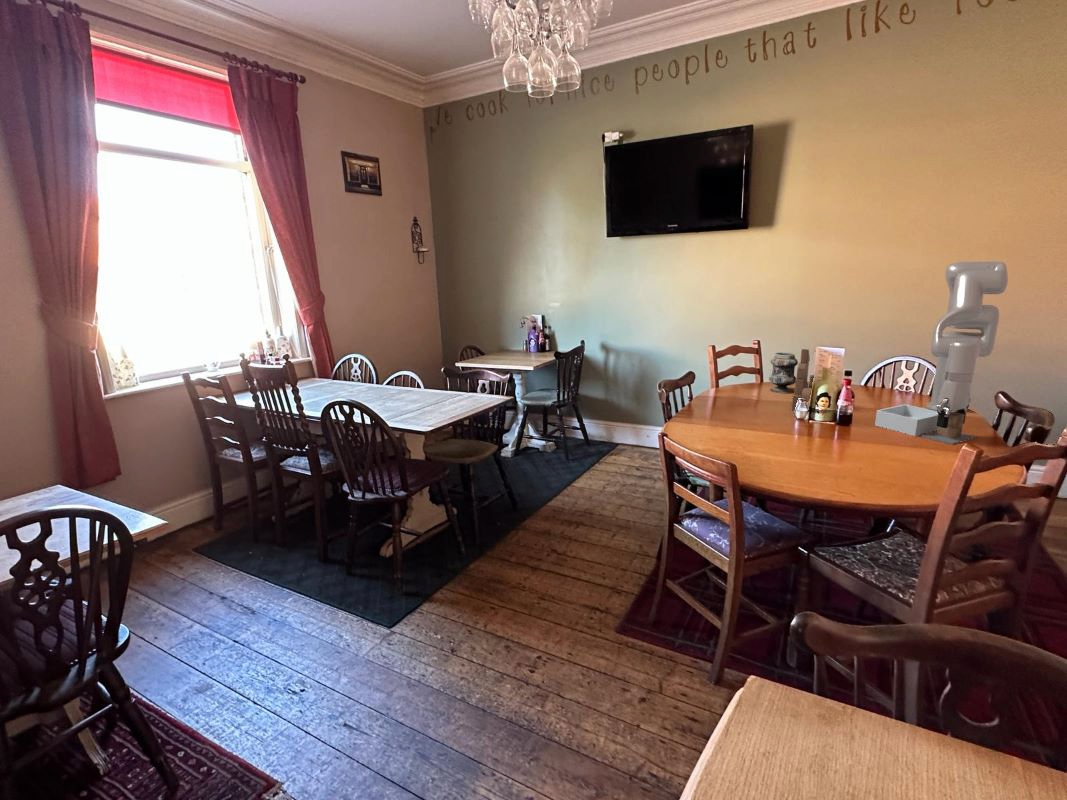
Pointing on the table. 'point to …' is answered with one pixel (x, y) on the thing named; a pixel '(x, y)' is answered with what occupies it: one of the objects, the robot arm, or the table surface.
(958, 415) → the walnut block
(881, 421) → the box
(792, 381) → the apothecary jar
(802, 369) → the wooden toy
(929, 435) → the slate mat
